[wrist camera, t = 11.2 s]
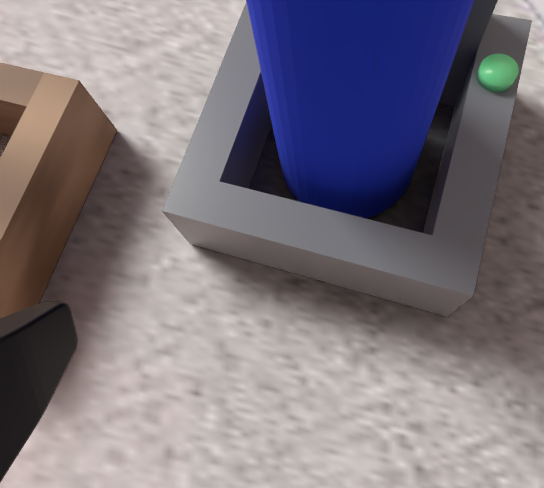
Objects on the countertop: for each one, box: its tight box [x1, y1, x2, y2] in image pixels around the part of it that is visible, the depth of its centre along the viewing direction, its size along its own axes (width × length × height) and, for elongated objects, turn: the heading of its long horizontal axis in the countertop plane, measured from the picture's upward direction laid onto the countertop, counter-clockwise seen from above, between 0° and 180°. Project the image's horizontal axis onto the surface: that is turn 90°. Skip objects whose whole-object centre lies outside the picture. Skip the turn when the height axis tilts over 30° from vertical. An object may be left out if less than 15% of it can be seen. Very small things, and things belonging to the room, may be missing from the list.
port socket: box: [162, 0, 532, 317], centre depth 17 cm, size 10×10×6 cm
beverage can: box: [246, 0, 474, 218], centre depth 13 cm, size 5×5×15 cm
